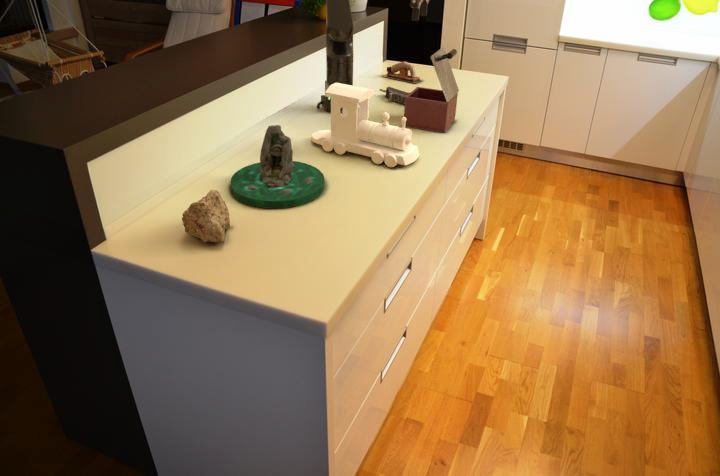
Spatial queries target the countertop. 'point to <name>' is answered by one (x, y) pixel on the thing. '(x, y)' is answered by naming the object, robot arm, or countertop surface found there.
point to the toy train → (364, 129)
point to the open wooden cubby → (429, 110)
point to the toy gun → (395, 94)
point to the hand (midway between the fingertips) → (419, 18)
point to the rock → (207, 218)
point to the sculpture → (402, 72)
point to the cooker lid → (445, 72)
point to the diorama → (277, 176)
